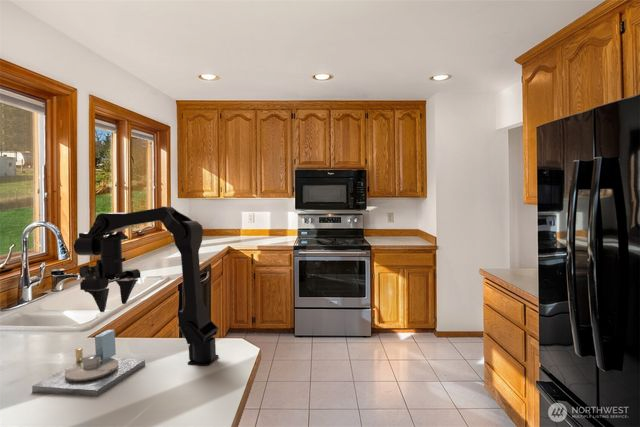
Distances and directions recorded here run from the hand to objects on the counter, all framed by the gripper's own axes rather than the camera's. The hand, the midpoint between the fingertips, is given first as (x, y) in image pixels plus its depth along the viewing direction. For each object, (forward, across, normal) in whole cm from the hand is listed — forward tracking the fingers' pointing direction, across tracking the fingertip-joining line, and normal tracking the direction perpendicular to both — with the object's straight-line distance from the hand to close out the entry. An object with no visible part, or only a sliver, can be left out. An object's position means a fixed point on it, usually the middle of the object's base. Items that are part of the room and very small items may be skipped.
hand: (113, 307), depth 118 cm
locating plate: (+15, +14, +4) cm, 21 cm away
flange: (+13, +13, +4) cm, 19 cm away
